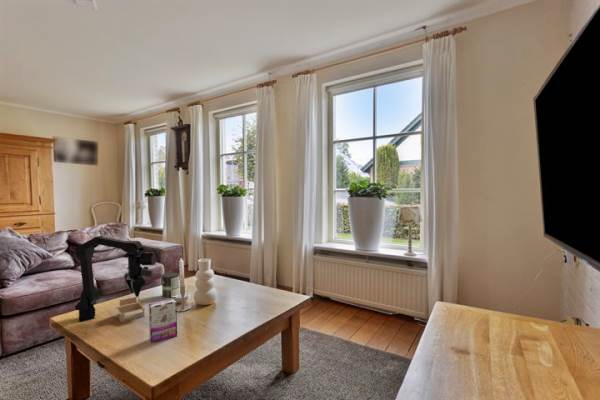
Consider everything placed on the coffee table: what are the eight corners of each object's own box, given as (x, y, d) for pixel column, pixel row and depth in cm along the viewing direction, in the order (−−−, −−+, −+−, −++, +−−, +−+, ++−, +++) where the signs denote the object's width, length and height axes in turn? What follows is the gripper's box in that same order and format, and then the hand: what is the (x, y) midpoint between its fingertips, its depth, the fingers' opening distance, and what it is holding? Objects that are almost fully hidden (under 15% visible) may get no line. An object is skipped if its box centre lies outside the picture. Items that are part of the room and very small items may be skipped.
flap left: (119, 306, 157) (119, 300, 156) (119, 305, 157) (119, 300, 157) (136, 302, 162) (136, 296, 162) (136, 302, 163) (136, 296, 162)
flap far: (143, 306, 156) (141, 300, 156) (139, 302, 162) (137, 296, 162) (143, 306, 157) (141, 300, 156) (140, 302, 163) (138, 296, 162)
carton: (112, 327, 142) (112, 319, 142) (107, 317, 154) (107, 309, 154) (146, 318, 152) (146, 310, 152) (139, 310, 164) (139, 302, 164)
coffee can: (161, 300, 178) (161, 277, 178) (162, 295, 188) (161, 273, 187) (180, 297, 183) (179, 275, 182) (179, 292, 192) (179, 271, 192)
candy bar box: (174, 332, 138) (174, 298, 138) (177, 336, 134) (177, 301, 134) (148, 339, 132) (148, 303, 131) (150, 343, 128) (150, 307, 127)
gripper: (156, 265, 152) (156, 295, 153) (145, 259, 166) (146, 286, 166) (132, 269, 145) (133, 300, 145) (123, 263, 158) (123, 291, 159)
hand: (134, 294), depth 154 cm, fingers open, 9 cm apart
